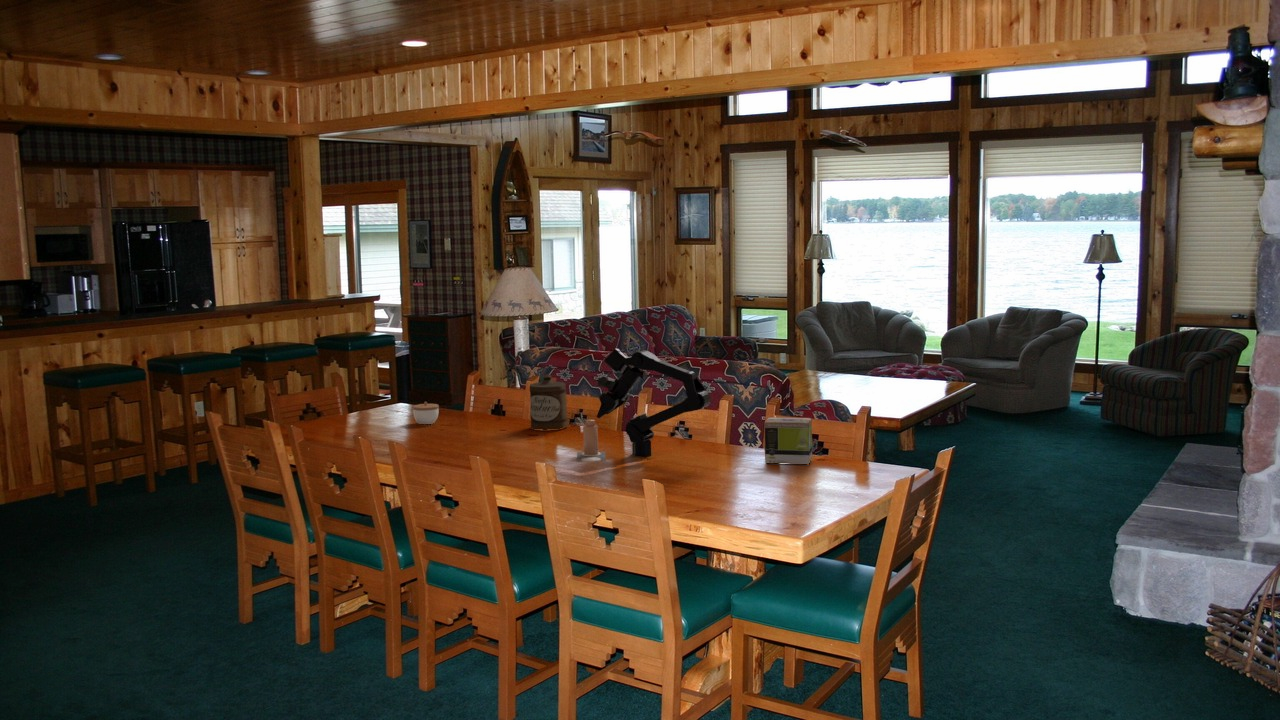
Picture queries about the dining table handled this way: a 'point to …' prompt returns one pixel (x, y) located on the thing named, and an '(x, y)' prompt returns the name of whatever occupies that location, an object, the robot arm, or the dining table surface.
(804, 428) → the tea box
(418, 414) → the lidded jar
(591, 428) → the light brown tall cylinder
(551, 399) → the labelled canister
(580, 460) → the slate board
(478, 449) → the dining table surface
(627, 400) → the robot arm
